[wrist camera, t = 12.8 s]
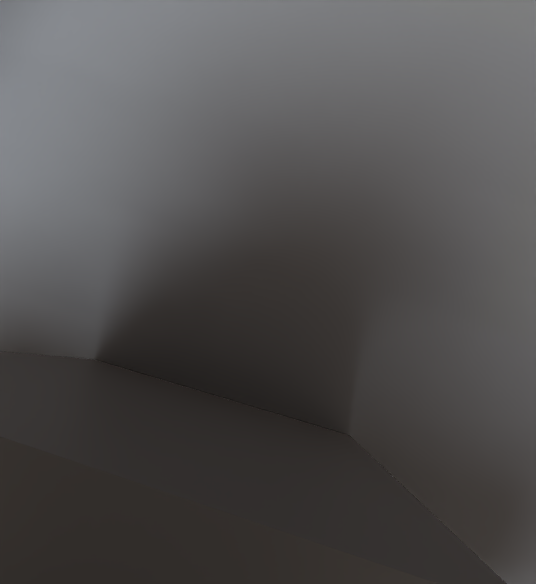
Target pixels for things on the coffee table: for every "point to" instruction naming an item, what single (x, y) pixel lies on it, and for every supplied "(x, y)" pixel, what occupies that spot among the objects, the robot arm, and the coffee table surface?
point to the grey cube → (196, 490)
